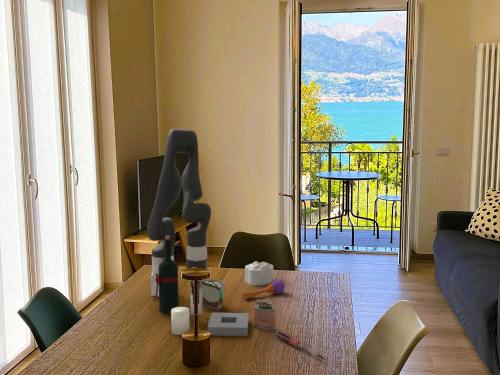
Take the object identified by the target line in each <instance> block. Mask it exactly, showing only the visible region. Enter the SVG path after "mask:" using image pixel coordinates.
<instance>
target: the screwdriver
mask: <svg viewBox="0 0 500 375" xmlns="http://www.w3.org/2000/svg"><path fill="white" fill-rule="evenodd" d="M275 335H276V337H277V338H278V339H280V340H281V341H282V342H285V343H287V344H289V345H292V346H293V347H295V349H298V348H301V349H303V350H305V351H307V352H309V353H310V354H313V355H314V356H316V357H318V358H320V359H322V360H326V358H325V357H324V356H322V355H320V354H319V353H318V352H315V351H313V350H311V349H310V348H308V347H306V346H305V345H303V344H302V342H301V341H300V340H298V339H296V338H295V337H293V336H292V335H290V334H289V333H287V332H284V331H282V330H276V332H275Z"/></svg>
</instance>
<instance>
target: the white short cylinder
mask: <svg viewBox="0 0 500 375" xmlns="http://www.w3.org/2000/svg"><path fill="white" fill-rule="evenodd" d="M170 315H171V316H170V318H171V319H170V320H171V322H170V323H171V325H170V326H171V327H170V328H171V334H172V335H176V336H182V335H181V334H182V333H184V332H186V331H188V330H190V328H191V326H190V308H189V307H186V306H179V307H176V308H173V309H172V310H171V314H170ZM190 331H191V330H190Z"/></svg>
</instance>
